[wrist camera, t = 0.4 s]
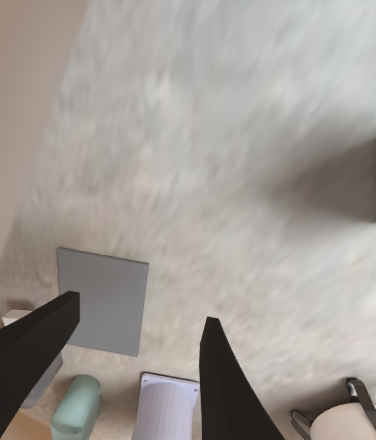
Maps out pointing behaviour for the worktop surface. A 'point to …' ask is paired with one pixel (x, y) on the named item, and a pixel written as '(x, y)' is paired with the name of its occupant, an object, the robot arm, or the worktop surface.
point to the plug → (49, 373)
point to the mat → (105, 299)
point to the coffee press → (343, 418)
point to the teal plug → (77, 410)
